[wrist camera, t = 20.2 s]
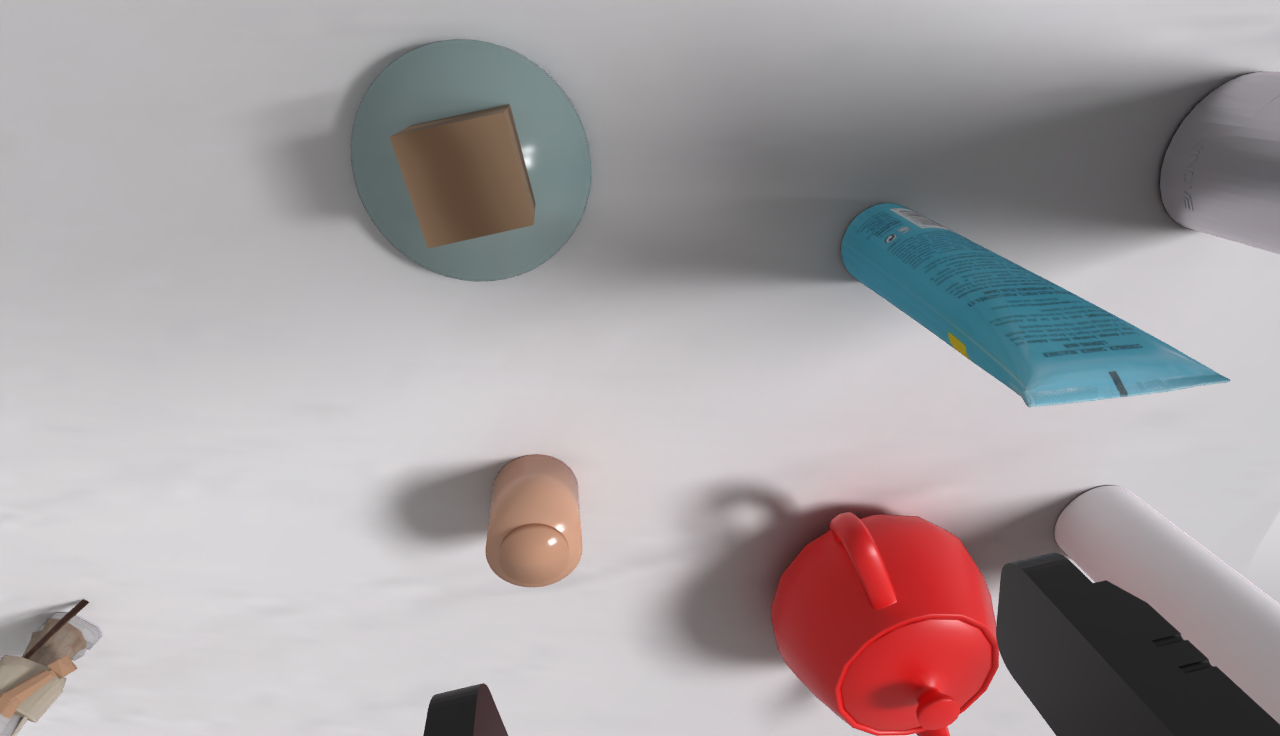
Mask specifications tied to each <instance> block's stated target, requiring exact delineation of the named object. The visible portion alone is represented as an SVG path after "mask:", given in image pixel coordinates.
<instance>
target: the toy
mask: <svg viewBox="0 0 1280 736" xmlns="http://www.w3.org/2000/svg"><path fill="white" fill-rule="evenodd" d="M88 603H89V602H88V601H86V600H84V599H83V600H82V601H81V602H80V603H79V604H78V605H76V606H75V607H74V608H73V609H72V610H71V611H69V612H68V613H55V614H54V615H53V616H52V617H51V618H50V619H47V621H46V623H45V624H44V625H43V626H41V627H40V628H39V629H38V630H37V631H36V632H34V633H33V634H32V638H31V641H30V643H29V645H28V647H27V649H26V651H25V653H24V655H23V656H22V657H16V656H8V655H5V656H4V657H3V658H2V659H1V660H0V736H16V735H17V733H18V732H19V731H20V729H21V728H22V726H23V725H24V724H25V722H26V721H27V720H29V721H32V722H37V721H38V720H39V718H40V717H41V716H42V715H43V714H44V713H45V712H46V710H47V709H48V708H49V707H50V706H51V705H52V704H53V702H54V701H55V700H56V699H57V698H58V697H59V696H60V694H61V693H62V691H63V688H64V685H65V682H66V678H64V676H66V675H68V674H69V673H71V672H73V671H74V670H76V669H77V667H76V666H75V665H74V663H73V662H72V661H71V660H77V659H78V658H80V657H82V656H83V655H84V653H85V651H86V649H91V648H92V647H93V646H94V644H95V643H96V642H97V641H98V640H99V639H100V638H101V637H102V634H101V632H100V630H99V629H98V628H97V627H95V626H93V625H91V624H89V623H87V622H85V621H83V620H81V619H80V618H78V617H76V616H75V615H76V614H77V613H78V612H79V611H80V610H81V609H82V608H83V607H85V606H86V605H87V604H88Z"/></svg>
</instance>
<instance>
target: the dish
mask: <svg viewBox="0 0 1280 736" xmlns="http://www.w3.org/2000/svg"><path fill="white" fill-rule="evenodd" d="M507 104H510V107H511V111H512V114H513V118H514V122H515V126H516V130H517V134H518V137H519V141H520V145H521V149H522V153H523V157H524V160H525V164H526V168H527V172H528V176H529V180H530V183H531V187H532V191H533V195H534V199H535V203H536V204H535V218H534V225H532V226H528V227H523V228H519V229H514V230H510V231H505V232H501V233H496V234H492V235H487V236H483V237H478V238H474V239H469V240H465V241H460V242H456V243H451V244H446V245H442V246H437V247H433V248H428V247H427V244H426V242H425V239H424V236H423V233H422V230H421V227H420V224H419V221H418V218H417V215H416V213H415V210H414V207H413V204H412V201H411V198H410V195H409V192H408V189H407V186H406V183H405V181H404V178H403V175H402V172H401V169H400V166H399V163H398V160H397V157H396V154H395V151H394V149H393V146H392V143H391V140H390V136H392V135H394V134H396V133H398V132H400V131H401V130H403V129H405V128H407V127H409V126H410V125H414V124H419V123H424V122H428V121H433V120H437V119H442V118H447V117H451V116H456V115H461V114H465V113H470V112H475V111H479V110H484V109H488V108H493V107H498V106H502V105H507ZM351 162H352V168H353V175H354V179H355V183H356V186H357V190H358V193H359V195H360V198H361V200H362V202H363V205H364V207H365V209H366V211H367V212H368V214H369V216H370V217H371V219H372V221H373V222H374V224H375V225H376V226H377V228H378V229H379V230H380V232H381V233H382V234H383V235H384V236H385V237H386V238H387V240H388V241H389V242H390V243H391V244H392V245H393V246H394V247H395V248H397V249H398V250H399V251H400V252H402V253H403V254H404V255H405V256H406V257H408V258H410V259H411V260H413V261H414V262H416V263H417V264H419V265H421V266H423V267H425V268H427V269H429V270H431V271H433V272H436V273H439V274H441V275H444V276H447V277H451V278H456V279H460V280H468V281H495V280H502V279H507V278H511V277H514V276H518V275H520V274H523V273H525V272H528V271H530V270H532V269H534V268H536V267H537V266H539V265H541V264H542V263H544V262H545V261H547V260H548V259H549V258H550V257H552V256H553V255H554V254H555V253H556V252H557V251H558V250H559V249H560V248H561V247H562V246H563V245H564V244H565V243H566V242H567V240H568V239H569V238H570V236H571V235H572V234H573V232H574V230H575V229H576V227H577V225H578V223H579V221H580V219H581V217H582V214H583V212H584V209H585V207H586V203H587V199H588V195H589V190H590V181H591V160H590V153H589V146H588V142H587V138H586V135H585V131H584V128H583V126H582V123H581V121H580V119H579V116H578V114H577V112H576V110H575V109H574V107H573V105H572V103H571V101H570V100H569V98H568V97H567V96H566V94H565V93H564V91H563V90H562V89H561V87H560V86H559V85H558V84H557V83H556V82H555V81H554V80H553V79H552V78H551V77H550V76H549V74H547V73H546V72H545V71H544V70H542V69H541V68H540V67H539V66H538V65H536V64H535V63H533V62H532V61H530V60H529V59H527V58H526V57H524V56H522V55H521V54H518V53H516V52H514V51H512V50H510V49H508V48H505V47H502V46H499V45H495V44H492V43H488V42H482V41H476V40H447V41H439V42H435V43H431V44H428V45H424V46H421V47H419V48H417V49H414V50H412V51H410V52H408V53H406V54H404V55H403V56H401V57H400V58H398V59H397V60H395V61H394V62H392V63H391V64H390V65H389V66H388V67H387V68H386V69H385V70H383V71H382V72H381V73H380V75H379V76H378V77H377V78H376V79H375V81H374V82H373V83H372V84H371V86H370V87H369V89H368V91H367V92H366V94H365V96H364V97H363V99H362V102H361V104H360V107H359V109H358V111H357V114H356V118H355V122H354V126H353V131H352V140H351Z"/></svg>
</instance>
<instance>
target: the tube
mask: <svg viewBox="0 0 1280 736" xmlns="http://www.w3.org/2000/svg"><path fill="white" fill-rule="evenodd" d="M841 255H842V260H843V263H844V266H845V268H846V269H847V271H848V272H849V273H850V274H851V275H852V276H853V277H854V278H856V279H857V280H859V281H860V282H861V283H863V284H864V285H866V286H867V287H868V288H870V289H871V290H873V291H874V292H876V293H877V294H879V295H880V296H882V297H883V298H885V299H886V300H887V301H889V302H890V303H892V304H893V305H894V306H896V307H897V308H899V309H900V310H901V311H903V312H904V313H906V314H907V315H908V316H910V317H911V318H913V319H914V320H915V321H917V322H918V323H920V324H921V325H923V326H924V327H925V328H927V329H928V330H930V331H931V332H932V333H934V334H935V335H936V336H938V337H939V338H940V339H942V340H943V341H945V342H946V343H947V344H949V345H950V346H952V347H953V348H954V349H956V350H957V351H958V352H960V353H961V354H963V355H964V356H965V357H967V358H968V359H969V360H971V361H972V362H973V363H975V364H976V365H978V366H979V367H981V368H982V369H984V370H985V371H986V372H988V373H989V374H991V375H992V376H994V377H995V378H996V379H998V380H999V381H1001V382H1002V383H1003V384H1005V385H1006V386H1008V387H1009V388H1010V389H1012V390H1013V391H1014V392H1016V393H1017V394H1018V395H1020V396H1021V397H1022V398H1023V400H1024V402H1025V404H1026V405H1027V406H1028V407H1039V406H1048V405H1059V404H1068V403H1078V402H1085V401H1095V400H1102V399H1111V398H1118V397H1128V396H1136V395H1144V394H1152V393H1160V392H1168V391H1173V390H1180V389H1186V388H1190V387H1194V386H1201V385H1210V384H1216V383H1227V382H1230V379H1228V378H1226V377H1224V376H1222V375H1220V374H1218V373H1217V372H1215V371H1213V370H1212V369H1210V368H1208V367H1206V366H1205V365H1203V364H1201V363H1199V362H1197V361H1196V360H1194V359H1192V358H1190V357H1189V356H1187V355H1185V354H1183V353H1182V352H1180V351H1178V350H1177V349H1175V348H1173V347H1171V346H1170V345H1168V344H1166V343H1164V342H1162V341H1161V340H1159V339H1157V338H1155V337H1153V336H1151V335H1150V334H1148V333H1146V332H1144V331H1142V330H1140V329H1139V328H1137V327H1135V326H1133V325H1131V324H1129V323H1128V322H1126V321H1124V320H1122V319H1120V318H1118V317H1116V316H1115V315H1113V314H1111V313H1109V312H1107V311H1105V310H1103V309H1101V308H1099V307H1097V306H1096V305H1094V304H1092V303H1090V302H1088V301H1086V300H1084V299H1082V298H1080V297H1078V296H1077V295H1075V294H1073V293H1071V292H1069V291H1067V290H1065V289H1063V288H1061V287H1059V286H1058V285H1056V284H1054V283H1052V282H1050V281H1048V280H1046V279H1044V278H1042V277H1040V276H1038V275H1036V274H1034V273H1032V272H1030V271H1028V270H1026V269H1025V268H1023V267H1021V266H1019V265H1017V264H1015V263H1013V262H1011V261H1009V260H1007V259H1005V258H1003V257H1001V256H999V255H997V254H996V253H994V252H992V251H990V250H988V249H986V248H984V247H982V246H980V245H978V244H976V243H974V242H972V241H970V240H968V239H966V238H964V237H963V236H961V235H959V234H957V233H955V232H953V231H951V230H949V229H947V228H945V227H943V226H941V225H939V224H937V223H936V222H933V221H931V220H930V219H928V218H926V217H924V216H922V215H920V214H918V213H916V212H914V211H912V210H910V209H908V208H906V207H903V206H901V205H898V204H894V203H882V204H877V205H874V206H872V207H870V208H868V209H866V210H864V211H863V212H861V213H860V214H858V215H857V216H856V217H855V218H854V220H853V221H852V222H851V224H850V225H849V226H848V228H847V230H846V232H845V234H844V237H843V240H842V245H841Z"/></svg>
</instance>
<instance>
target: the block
mask: <svg viewBox="0 0 1280 736" xmlns="http://www.w3.org/2000/svg"><path fill="white" fill-rule="evenodd" d="M390 140H391V143H392V146H393V149H394V151H395V154H396V157H397V160H398V163H399V166H400V169H401V172H402V175H403V178H404V181H405V183H406V186H407V189H408V192H409V195H410V198H411V201H412V204H413V207H414V210H415V213H416V215H417V218H418V221H419V224H420V227H421V230H422V233H423V236H424V239H425V242H426V244H427V247H428V248H433V247H437V246H442V245H446V244H451V243H456V242H460V241H465V240H469V239H474V238H478V237H483V236H487V235H492V234H496V233H501V232H505V231H510V230H514V229H519V228H523V227H528V226H532V225H534V218H535V204H536V203H535V199H534V195H533V191H532V187H531V183H530V180H529V176H528V172H527V168H526V164H525V160H524V157H523V153H522V149H521V145H520V141H519V137H518V134H517V130H516V126H515V122H514V118H513V114H512V111H511V107H510V104H507V105H502V106H498V107H493V108H488V109H484V110H479V111H475V112H470V113H465V114H461V115H456V116H451V117H447V118H442V119H437V120H433V121H428V122H424V123H419V124H414V125H410V126H409V127H407V128H405V129H403V130H401V131H400V132H398V133H396V134H394V135H392V136H390Z"/></svg>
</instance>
